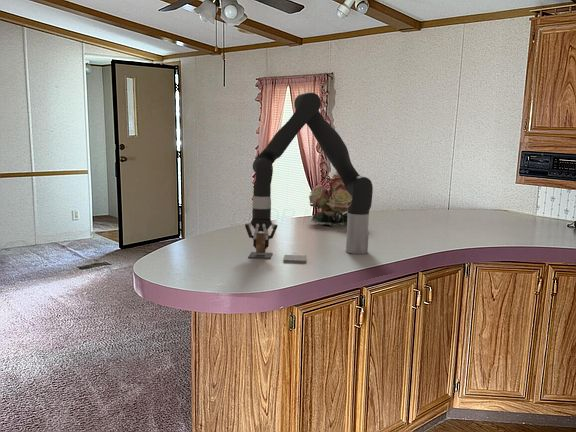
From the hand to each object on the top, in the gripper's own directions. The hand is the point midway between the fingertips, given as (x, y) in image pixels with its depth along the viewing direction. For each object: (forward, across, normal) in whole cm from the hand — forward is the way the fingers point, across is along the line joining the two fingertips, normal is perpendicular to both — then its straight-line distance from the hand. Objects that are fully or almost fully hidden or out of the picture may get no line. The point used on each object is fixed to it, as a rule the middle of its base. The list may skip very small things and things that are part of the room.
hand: (260, 247), depth 218 cm
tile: (+3, -14, 0) cm, 15 cm away
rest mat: (+3, 0, 0) cm, 3 cm away
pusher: (+2, 0, 0) cm, 2 cm away
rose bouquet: (+4, -33, -89) cm, 95 cm away
